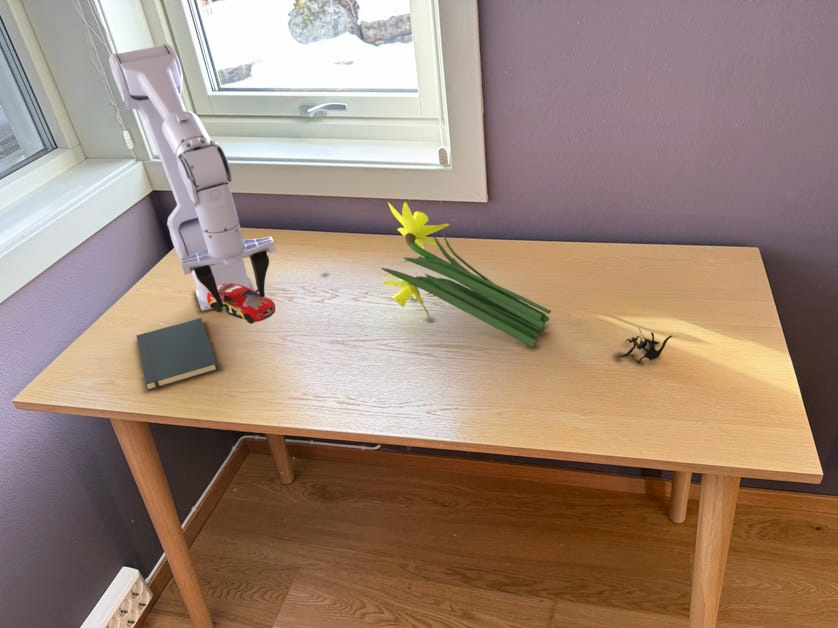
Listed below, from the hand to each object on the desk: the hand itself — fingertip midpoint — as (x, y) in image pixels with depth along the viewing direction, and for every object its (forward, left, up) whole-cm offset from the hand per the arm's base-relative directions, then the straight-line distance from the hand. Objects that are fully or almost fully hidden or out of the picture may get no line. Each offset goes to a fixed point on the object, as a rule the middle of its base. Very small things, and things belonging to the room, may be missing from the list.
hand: (241, 299), depth 126 cm
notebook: (+12, -2, -8) cm, 15 cm away
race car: (0, -1, -3) cm, 3 cm away
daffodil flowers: (-36, +11, -8) cm, 38 cm away
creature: (-55, +36, -8) cm, 66 cm away
